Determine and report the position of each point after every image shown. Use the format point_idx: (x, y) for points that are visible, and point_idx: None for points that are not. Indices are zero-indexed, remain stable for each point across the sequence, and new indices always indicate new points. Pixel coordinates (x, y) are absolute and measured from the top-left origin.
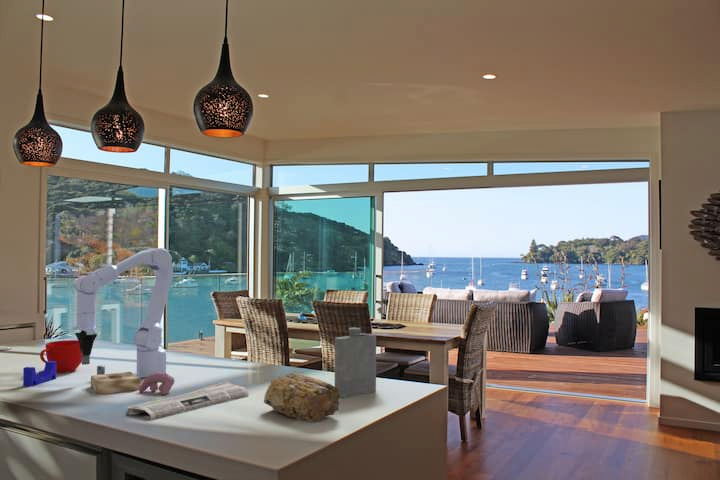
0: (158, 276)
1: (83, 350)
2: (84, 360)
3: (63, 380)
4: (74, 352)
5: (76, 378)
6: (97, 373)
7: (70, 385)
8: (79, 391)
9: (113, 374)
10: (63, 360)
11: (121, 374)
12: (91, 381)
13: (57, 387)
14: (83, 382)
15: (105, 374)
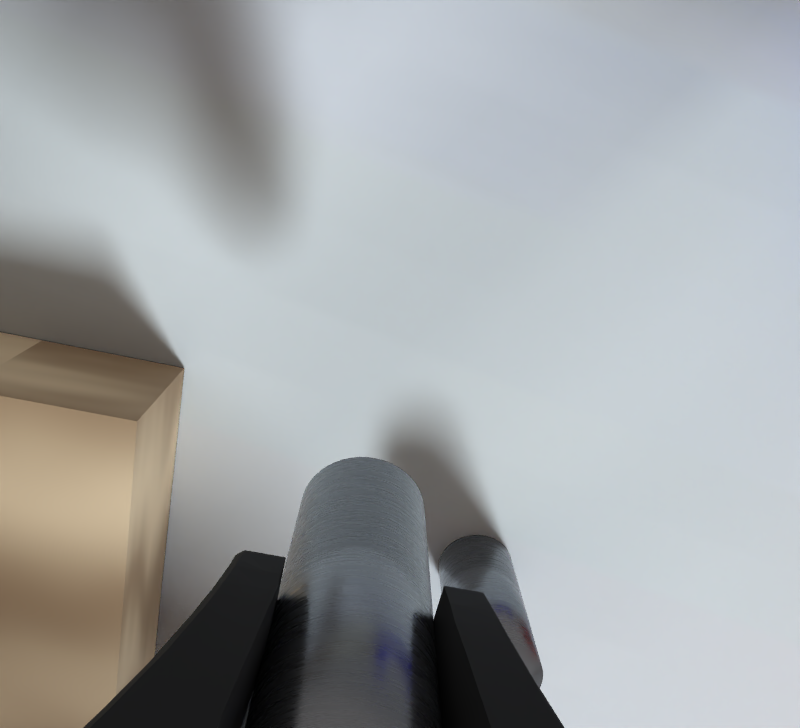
0: None
1: (186, 637)
2: (301, 517)
3: (757, 292)
4: None
5: (738, 432)
6: (482, 582)
7: (417, 240)
8: (7, 182)
9: (54, 619)
10: None
11: (4, 671)
12: (126, 386)
13: (413, 74)
14: (473, 403)
15: (108, 563)
